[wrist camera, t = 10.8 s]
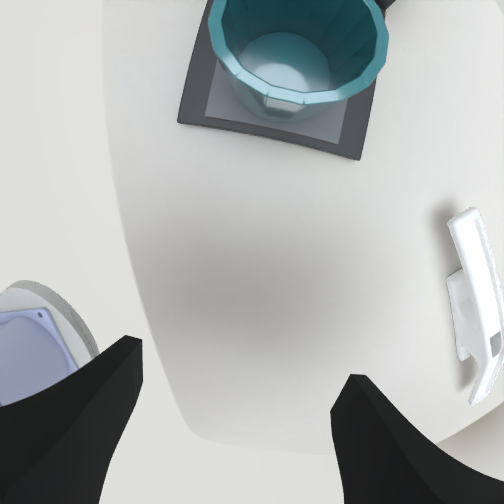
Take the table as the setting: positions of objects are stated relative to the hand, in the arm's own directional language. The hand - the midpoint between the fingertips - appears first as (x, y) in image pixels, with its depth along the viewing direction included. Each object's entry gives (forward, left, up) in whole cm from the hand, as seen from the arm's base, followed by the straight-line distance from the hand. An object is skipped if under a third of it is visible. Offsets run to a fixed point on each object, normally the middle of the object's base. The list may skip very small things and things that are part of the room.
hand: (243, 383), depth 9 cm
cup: (+4, +11, -8) cm, 14 cm away
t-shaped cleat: (+17, -7, -10) cm, 21 cm away
